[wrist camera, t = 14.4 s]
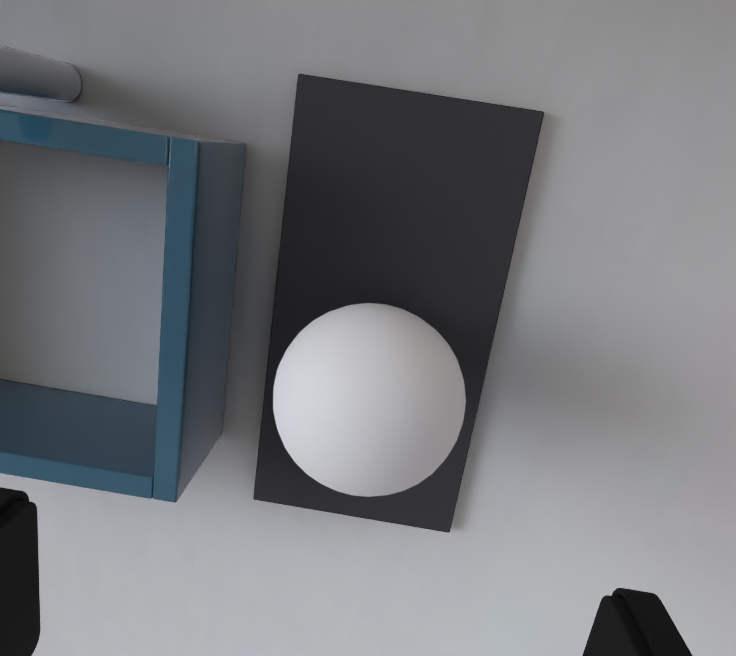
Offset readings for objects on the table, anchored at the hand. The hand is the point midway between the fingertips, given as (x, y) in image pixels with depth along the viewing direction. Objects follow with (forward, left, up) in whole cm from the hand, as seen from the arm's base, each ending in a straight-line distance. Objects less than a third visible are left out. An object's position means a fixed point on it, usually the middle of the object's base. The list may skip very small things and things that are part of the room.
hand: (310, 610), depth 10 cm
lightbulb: (0, 0, -18) cm, 18 cm away
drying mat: (+1, 0, -18) cm, 18 cm away
